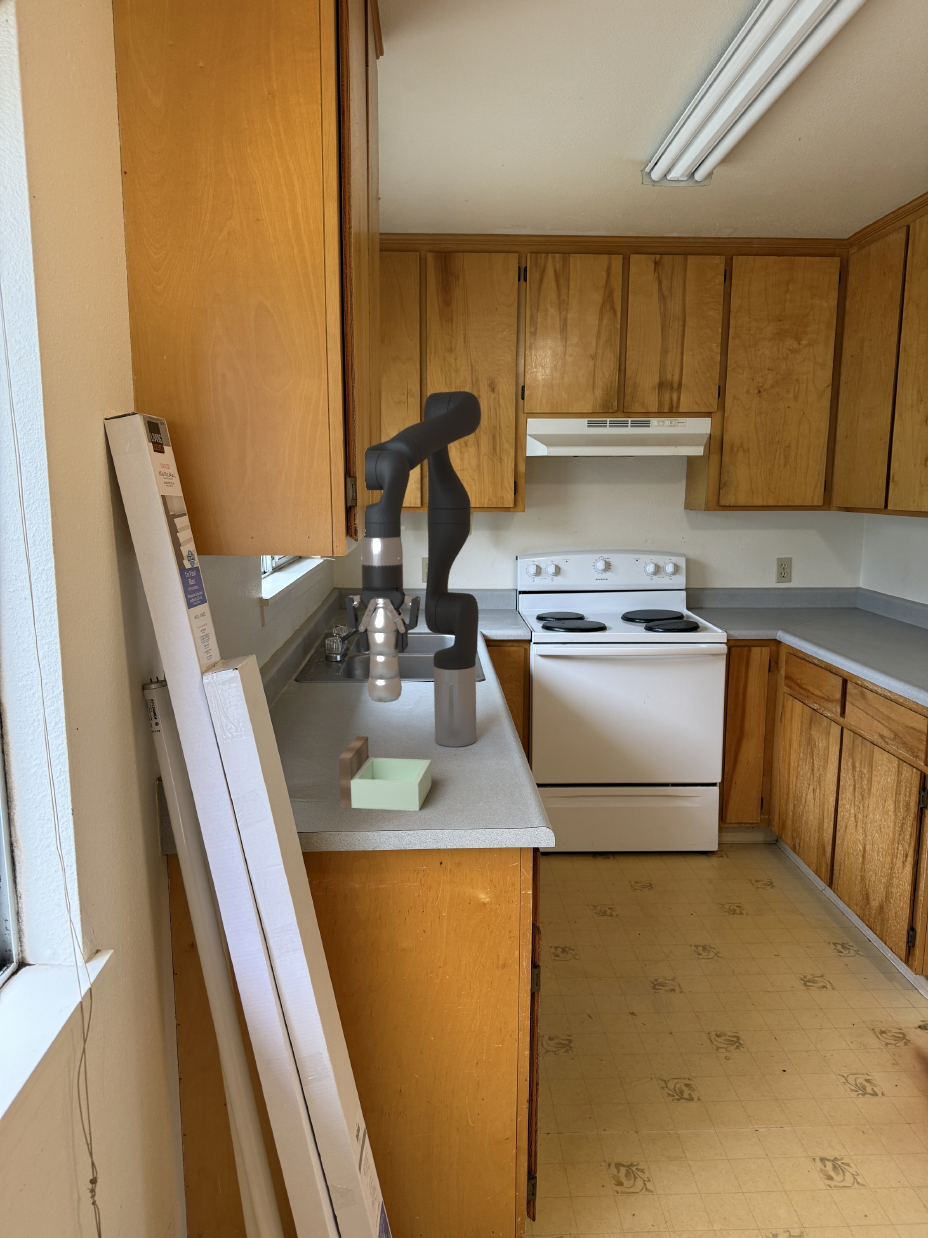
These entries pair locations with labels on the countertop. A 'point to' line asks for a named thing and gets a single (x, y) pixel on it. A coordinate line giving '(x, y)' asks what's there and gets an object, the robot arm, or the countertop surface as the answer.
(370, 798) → the socket block
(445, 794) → the countertop surface
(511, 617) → the countertop surface
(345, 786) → the backstop
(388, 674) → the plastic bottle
